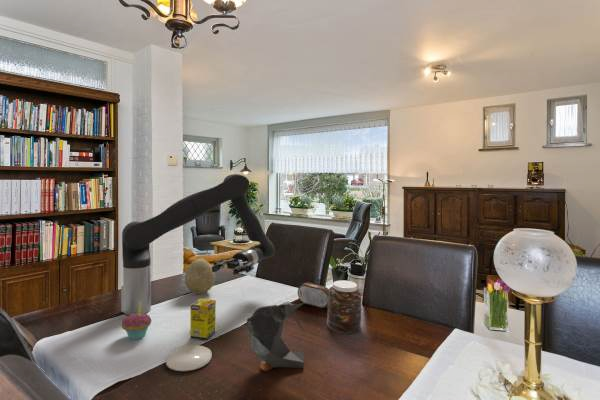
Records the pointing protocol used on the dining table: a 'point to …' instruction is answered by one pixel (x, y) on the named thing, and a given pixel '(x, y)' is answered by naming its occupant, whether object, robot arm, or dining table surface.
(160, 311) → the dining table surface
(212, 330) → the supplement box
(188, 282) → the fossilized egg
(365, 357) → the dining table surface
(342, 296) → the jar
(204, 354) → the plate
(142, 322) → the cupcake
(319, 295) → the tin
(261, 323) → the grey bird figurine
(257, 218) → the robot arm
